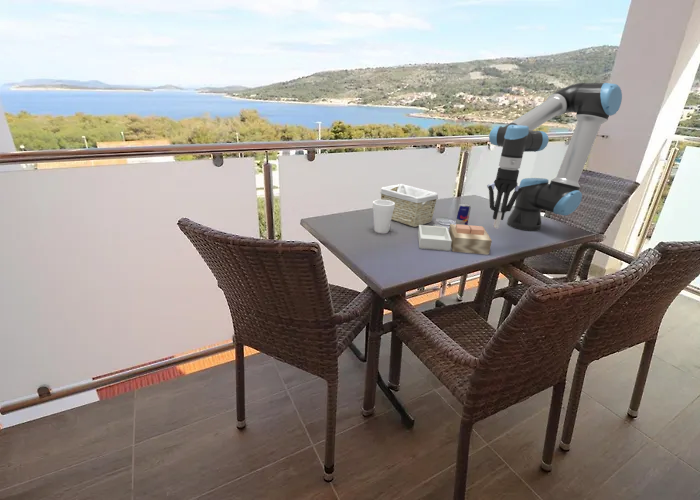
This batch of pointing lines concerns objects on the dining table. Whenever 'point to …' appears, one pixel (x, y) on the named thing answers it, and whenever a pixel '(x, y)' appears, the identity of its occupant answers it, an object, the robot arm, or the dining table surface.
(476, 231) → the tile
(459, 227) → the tile
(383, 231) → the foam cup
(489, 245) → the tan wooden block
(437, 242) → the box
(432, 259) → the dining table surface
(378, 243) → the dining table surface
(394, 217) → the storage basket
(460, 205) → the energy drink
